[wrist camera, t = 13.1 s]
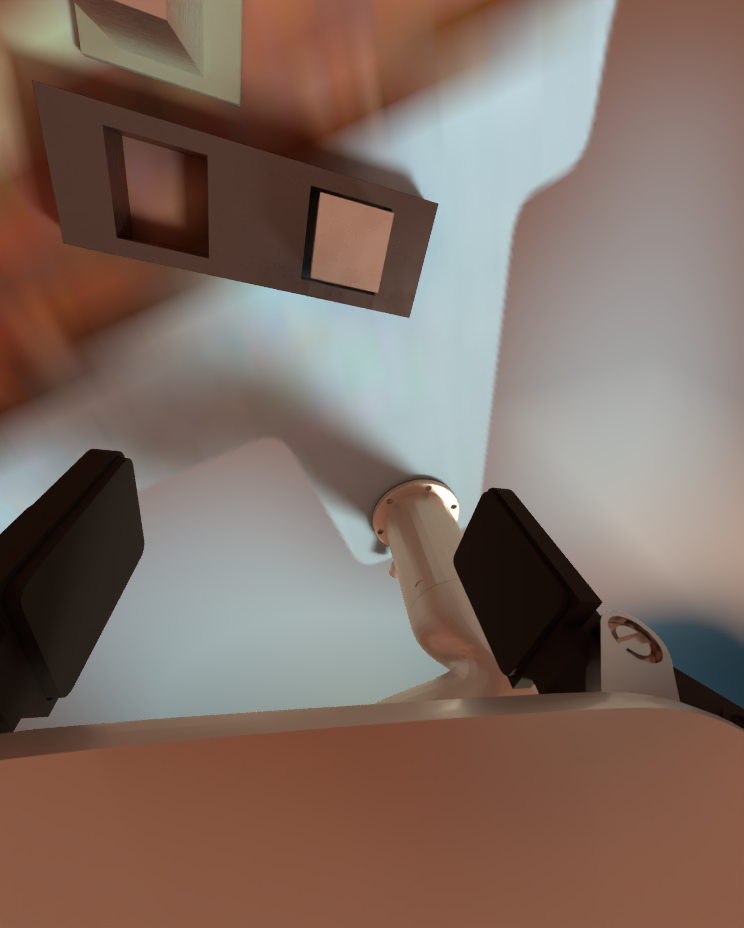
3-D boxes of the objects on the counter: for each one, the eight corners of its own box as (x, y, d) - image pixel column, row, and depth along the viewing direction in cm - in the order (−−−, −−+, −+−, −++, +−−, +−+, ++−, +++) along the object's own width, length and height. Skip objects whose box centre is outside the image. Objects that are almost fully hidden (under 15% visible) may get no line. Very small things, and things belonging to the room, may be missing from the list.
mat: (240, 107, 27) (239, 104, 26) (86, 56, 24) (81, 52, 24) (243, -37, 23) (241, -43, 23) (63, -114, 21) (57, -122, 20)
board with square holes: (402, 312, 36) (409, 317, 34) (84, 243, 29) (63, 243, 27) (428, 206, 32) (438, 203, 29) (59, 95, 25) (32, 80, 22)
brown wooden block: (364, 282, 34) (377, 292, 28) (310, 269, 33) (310, 277, 26) (375, 218, 32) (394, 213, 25) (317, 202, 30) (320, 192, 24)
